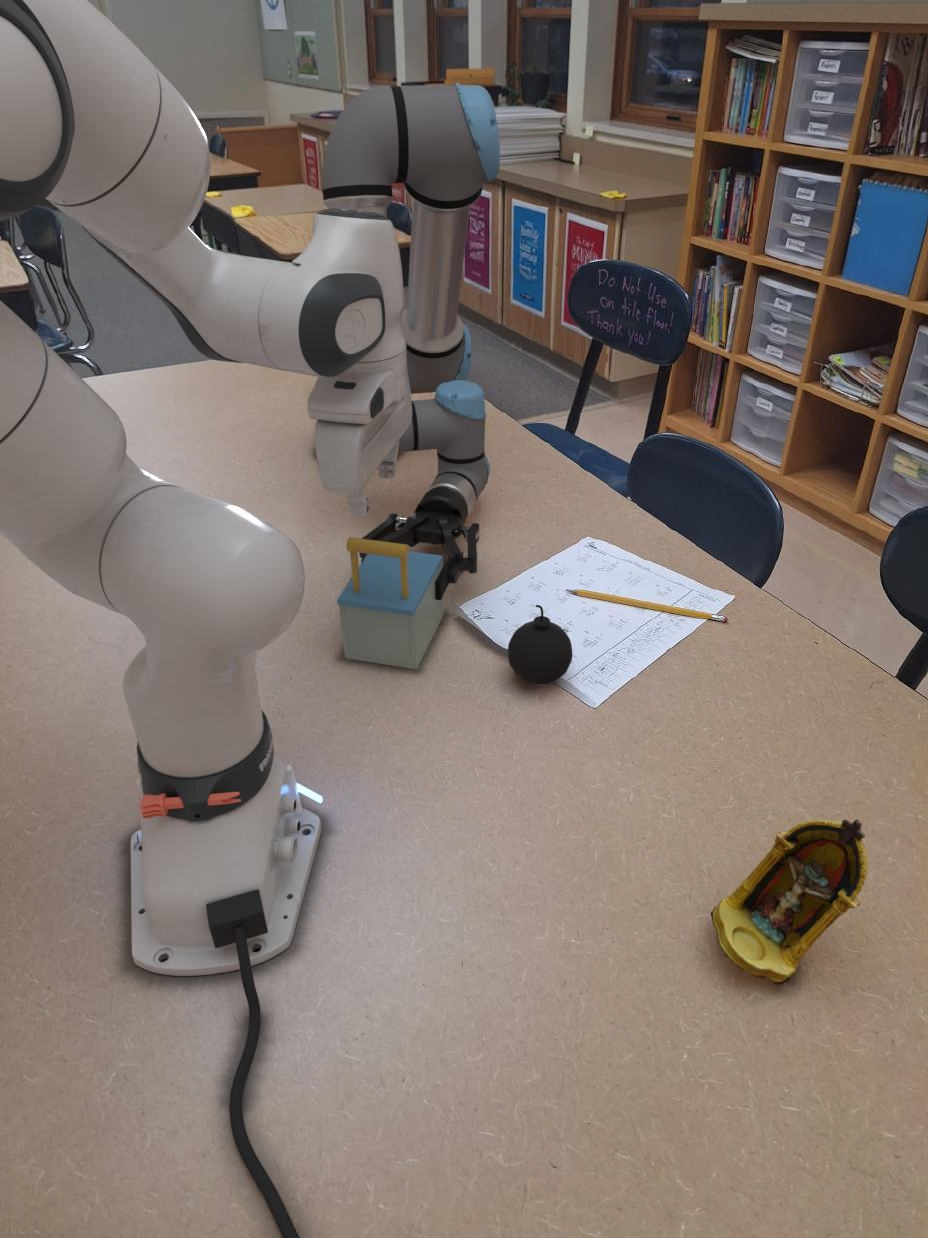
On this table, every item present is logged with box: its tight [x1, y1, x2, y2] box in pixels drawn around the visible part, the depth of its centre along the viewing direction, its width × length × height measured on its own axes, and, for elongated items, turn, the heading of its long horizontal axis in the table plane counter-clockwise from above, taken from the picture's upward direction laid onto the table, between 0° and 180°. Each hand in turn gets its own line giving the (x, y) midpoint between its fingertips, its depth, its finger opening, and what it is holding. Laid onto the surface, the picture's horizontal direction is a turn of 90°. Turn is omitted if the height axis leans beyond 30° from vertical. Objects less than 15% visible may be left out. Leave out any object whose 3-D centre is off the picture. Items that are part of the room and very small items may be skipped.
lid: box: [336, 536, 444, 616], centre depth 107 cm, size 13×10×8 cm
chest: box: [338, 561, 445, 671], centre depth 113 cm, size 13×10×9 cm
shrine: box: [710, 818, 868, 986], centre depth 72 cm, size 12×8×15 cm
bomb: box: [507, 604, 573, 686], centre depth 104 cm, size 8×8×12 cm
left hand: (374, 494), depth 98 cm, fingers open, 8 cm apart
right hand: (399, 586), depth 113 cm, fingers closed on chest, 10 cm apart
